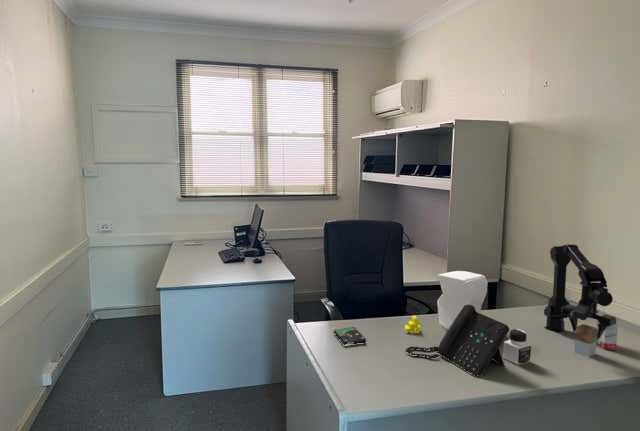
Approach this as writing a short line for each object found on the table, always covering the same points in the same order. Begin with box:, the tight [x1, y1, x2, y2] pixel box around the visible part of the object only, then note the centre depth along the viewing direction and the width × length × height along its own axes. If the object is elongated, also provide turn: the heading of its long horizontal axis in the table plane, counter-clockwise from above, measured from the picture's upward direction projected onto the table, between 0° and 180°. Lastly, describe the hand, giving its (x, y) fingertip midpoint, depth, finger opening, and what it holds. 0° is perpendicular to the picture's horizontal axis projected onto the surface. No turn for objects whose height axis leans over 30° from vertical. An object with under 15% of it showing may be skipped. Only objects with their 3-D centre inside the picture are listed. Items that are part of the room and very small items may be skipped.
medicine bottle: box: [502, 328, 532, 366], centre depth 170 cm, size 7×7×12 cm
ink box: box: [596, 320, 619, 351], centre depth 184 cm, size 9×5×12 cm, turn 168°
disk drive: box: [333, 326, 367, 345], centre depth 191 cm, size 10×3×15 cm
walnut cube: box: [575, 323, 598, 344], centre depth 177 cm, size 6×6×6 cm
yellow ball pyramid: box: [403, 315, 421, 333], centre depth 199 cm, size 6×8×8 cm
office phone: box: [405, 305, 511, 377], centre depth 170 cm, size 29×28×20 cm
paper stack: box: [435, 270, 489, 330], centre depth 204 cm, size 21×27×26 cm
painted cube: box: [574, 338, 597, 358], centre depth 177 cm, size 6×6×6 cm
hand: (586, 335), depth 177 cm, fingers open, 9 cm apart
